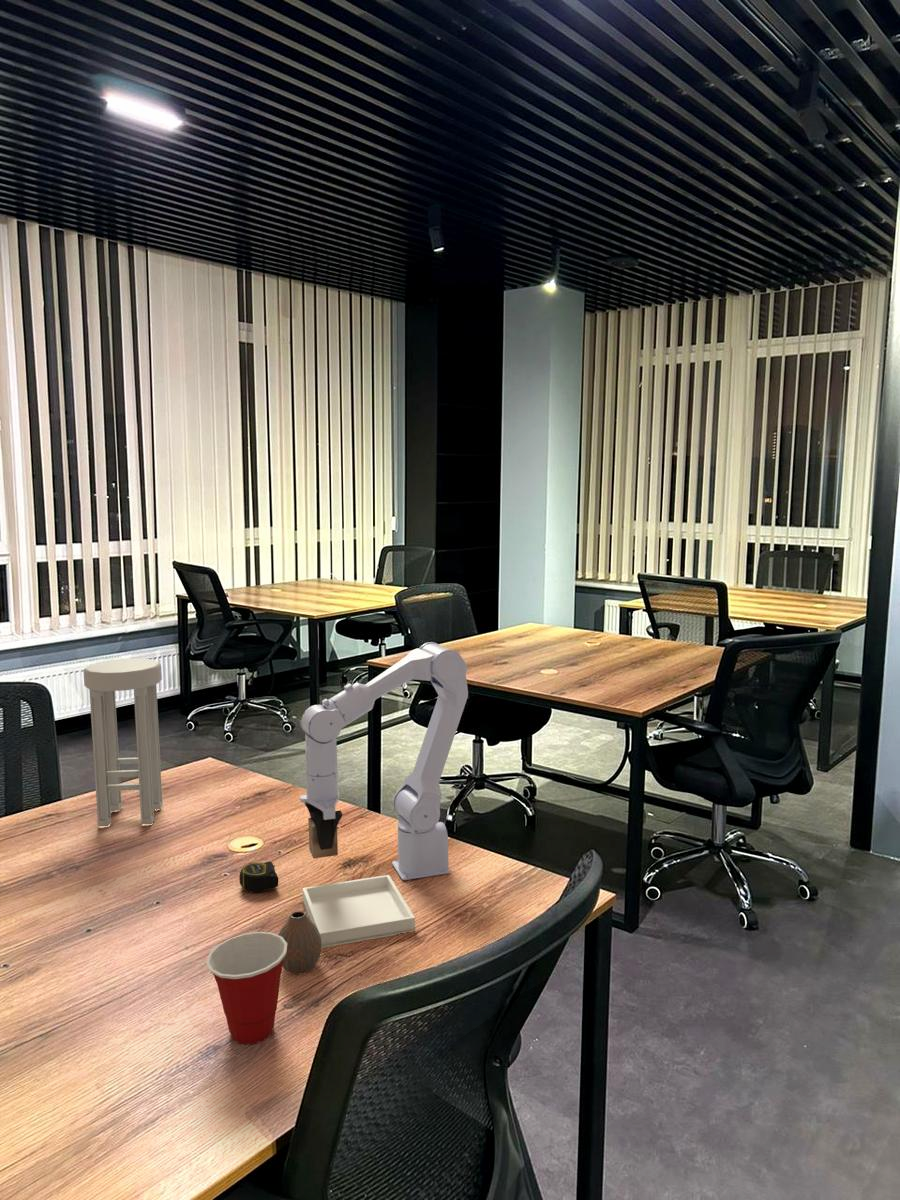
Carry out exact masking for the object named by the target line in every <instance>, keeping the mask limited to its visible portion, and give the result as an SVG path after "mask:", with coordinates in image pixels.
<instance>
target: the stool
mask: <svg viewBox="0 0 900 1200" xmlns="http://www.w3.org/2000/svg"><path fill="white" fill-rule="evenodd" d="M162 679H163V677H162V665H161V662H159V661H157V660H155V659H151V658H138V657H137V658H135V657H134V658H118V659H111V660H110V659H109V660H102V661H100V662H94V663H91V664H89V665H88V666H86V667H84V669H83V685H84V687H85V688H87V689H88V691H89V703H90V704H89V705H90V707H89V708H90V719H91V721H90V722H91V735H92V737H91V738H92V750H93V751H92V752H93V767H94V770H93V771H94V783H95V785H94V786H95V798H96V800H95V801H96V813H97V814H96V815H97V827H98V826H108V825H109V824H110V823H111V824H112V815H111V814H112V813H111V811H115V810H120V809H121V807H122V808H123V806H122V791H139V805H140V820H141V821H140V823H141V824H152V823H153V821H154V822H155V817H154V816H155V815H154V812H155V811H153V810H155V809H156V810H157V809H161V807H162V806H163V787H162V771H161V770H162V769H161V768H162V766H161V752H160V751H161V749H160V747H161V746H160V734H159V733H160V729H159V711H158V694H157V693H158V692H157V685H158V684H159V683H160V682H161V681H162ZM130 690H132V691H133V699H134V718H135V734H136V751H137V753H136V754H137V757H120V755H119V739H118V738H119V737H118V736H119V735H118V721H117V705H116V703H117V702H116V692H117V691H119V692H123V691H125V692H126V691H130ZM136 764H137V769H126V770H125V769H122V770H121V769H120V765H136ZM134 777H135V778H136V777H137V778H138V783H137V782H136V783H133V782H132V783H121V778H134ZM163 807H164V806H163ZM163 807H162V808H163ZM121 810H122V809H121ZM161 810H162V809H161ZM153 824H154V823H153Z"/></svg>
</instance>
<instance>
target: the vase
mask: <svg viewBox="0 0 900 1200" xmlns="http://www.w3.org/2000/svg"><path fill="white" fill-rule="evenodd" d="M278 935H279V936H281V937H283V939H284V940H285V941H286V943H287V951H286V956H285V957H284V960H283V966H282V969H283V970H285V971H286V972H288V973H289V974H293V975H303V974H307V973H308V972H310V971H311V970H312V969H313V968H315V966H316V965H317V964H318V962H319V959H320V957H321V953H322V948H321V947H322V943H321V936H320V933H319V931H318V929H317V927H316V926H315V925H314V923H313V922H312V921H311V920H310V919H309V917H308V914H307V912H305V911H303V910H296V911H295V910H294V911H293V912H291V913H290V914H289V917H288V918H287V921H286V922H285V923H284V924H283V925H282V927H281V928H280V930H279V933H278Z"/></svg>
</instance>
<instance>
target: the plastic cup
mask: <svg viewBox="0 0 900 1200" xmlns="http://www.w3.org/2000/svg"><path fill="white" fill-rule="evenodd" d="M286 951H287V943H286V941H285V940H284V939H283V937H281V936H279V934H276V933H274V932H267V931H266V932H264V931H254V932H248V933H242V934H239V935H236V936H234V937H230V938H228V939H226V940H225V941H223V942H221V943H219V944H217V945H216V946H214V948H213V949H212V950H211V951H210V952H209V954H208V956H207V957H206V958H207V959H206V962H205V964H206V966H207V968H208V969H209V971H210V973H211V974H212V976H213V977H214V979H215V982H216V985H217V990H218V993H219V997H220V1000H221V1001H220V1002H221V1005H222V1008H223V1013H224V1015H225V1017H226V1022H227V1023H226V1024H227V1027H228V1032H229V1035H230V1036H231V1038H232V1041H234V1042H236V1043H238V1044H242V1045H255V1044H258V1043H261V1042H263V1041H265V1040H267V1039H269V1037H270V1036H271V1034H272V1033H273V1030H274V1026H275V1020H276V1019H275V1018H276V1014H277V1013H276V1011H277V1010H278V1003H279V1002H278V1001H279V992H280V986H281V985H280V984H281V975H282V972H283V967H282V966H283V960H284V957H285V956H286Z"/></svg>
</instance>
